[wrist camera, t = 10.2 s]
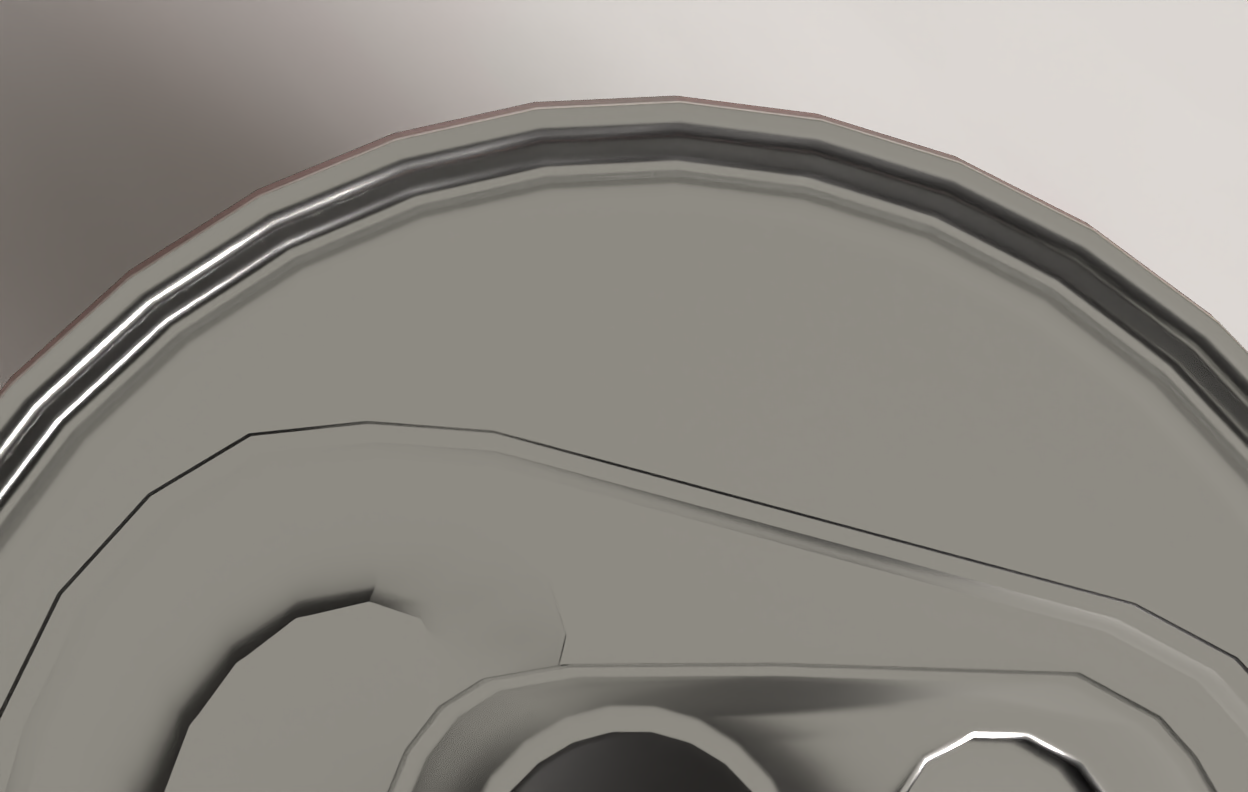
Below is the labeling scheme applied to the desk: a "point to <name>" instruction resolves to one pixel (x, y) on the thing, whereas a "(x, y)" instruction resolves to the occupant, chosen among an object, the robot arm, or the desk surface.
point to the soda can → (629, 482)
